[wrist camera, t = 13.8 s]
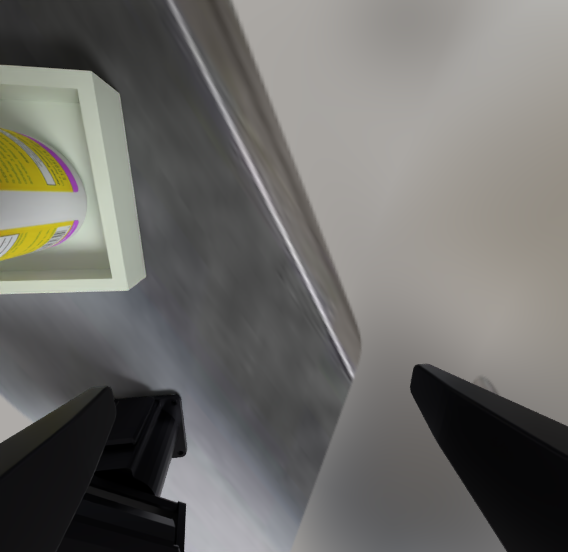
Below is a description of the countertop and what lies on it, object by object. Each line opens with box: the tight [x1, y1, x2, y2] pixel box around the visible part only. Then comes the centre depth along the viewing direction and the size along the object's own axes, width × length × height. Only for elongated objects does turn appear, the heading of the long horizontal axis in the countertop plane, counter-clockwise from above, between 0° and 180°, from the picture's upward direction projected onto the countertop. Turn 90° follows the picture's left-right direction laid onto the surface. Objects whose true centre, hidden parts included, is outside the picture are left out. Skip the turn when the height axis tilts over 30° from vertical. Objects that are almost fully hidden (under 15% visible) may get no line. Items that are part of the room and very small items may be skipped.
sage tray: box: [0, 65, 146, 294], centre depth 15 cm, size 12×12×3 cm
